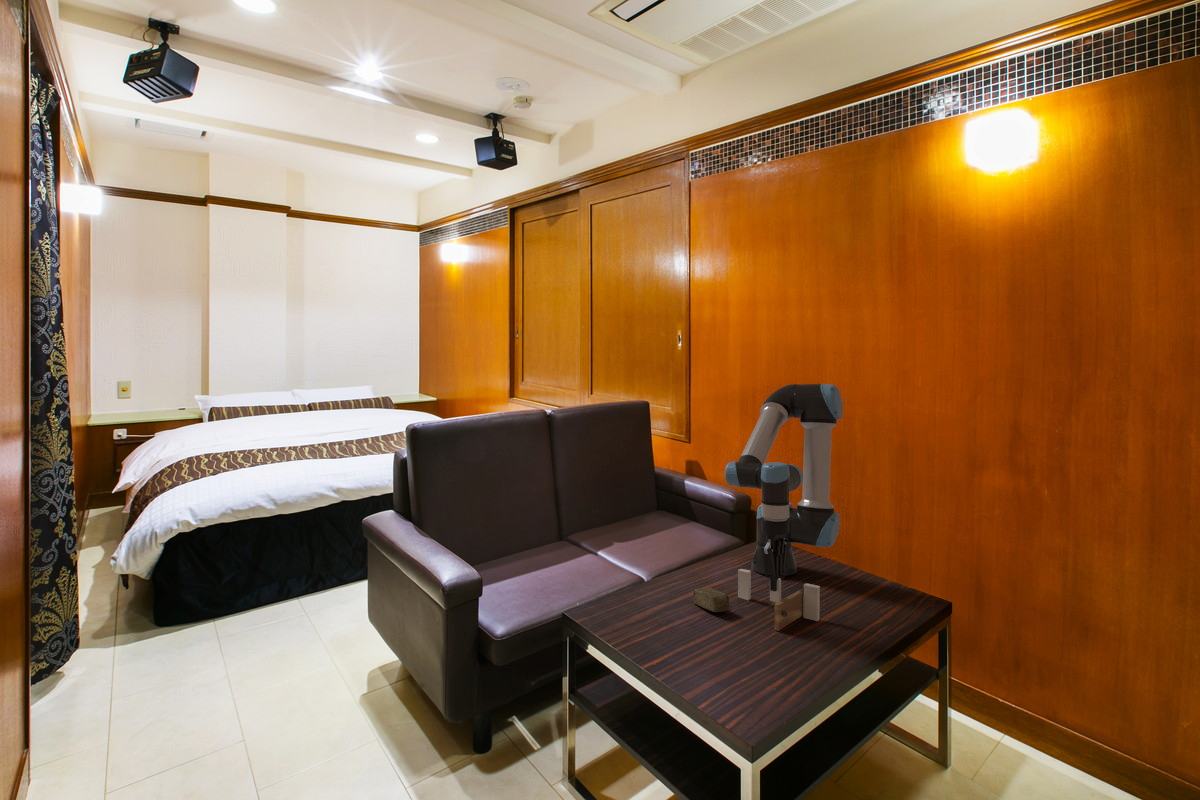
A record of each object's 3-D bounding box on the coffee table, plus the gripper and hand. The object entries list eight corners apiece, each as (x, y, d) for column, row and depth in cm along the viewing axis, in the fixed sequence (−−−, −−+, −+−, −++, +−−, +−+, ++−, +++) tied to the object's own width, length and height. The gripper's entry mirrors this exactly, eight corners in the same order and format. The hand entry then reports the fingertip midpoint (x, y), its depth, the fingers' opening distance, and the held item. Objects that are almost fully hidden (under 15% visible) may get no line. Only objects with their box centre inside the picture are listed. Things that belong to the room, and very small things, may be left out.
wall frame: (740, 598, 185) (740, 568, 184) (819, 619, 168) (820, 586, 168) (737, 600, 183) (737, 570, 183) (817, 621, 167) (817, 588, 166)
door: (774, 630, 160) (774, 603, 160) (799, 614, 172) (799, 589, 171) (783, 633, 158) (783, 605, 158) (808, 616, 170) (808, 591, 170)
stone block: (715, 614, 169) (714, 597, 169) (691, 604, 179) (691, 588, 179) (731, 611, 172) (730, 593, 172) (706, 601, 182) (706, 585, 182)
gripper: (772, 512, 171) (772, 591, 172) (752, 520, 162) (752, 604, 163) (797, 515, 167) (797, 597, 167) (778, 524, 157) (778, 611, 158)
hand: (775, 600), depth 165 cm, fingers closed
